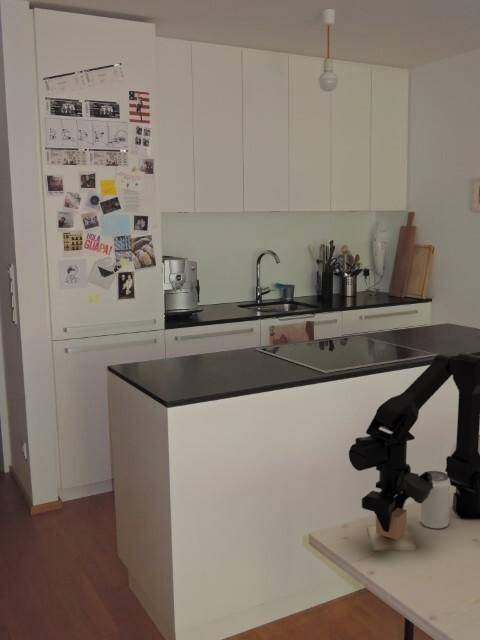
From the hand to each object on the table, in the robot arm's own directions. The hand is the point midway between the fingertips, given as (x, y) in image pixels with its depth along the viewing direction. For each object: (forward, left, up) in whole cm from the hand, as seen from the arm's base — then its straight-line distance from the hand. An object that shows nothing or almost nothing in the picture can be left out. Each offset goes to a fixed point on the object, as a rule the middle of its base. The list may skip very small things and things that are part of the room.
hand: (391, 526), depth 146 cm
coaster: (0, 0, -3) cm, 3 cm away
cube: (0, 0, -1) cm, 1 cm away
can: (-12, -8, -3) cm, 15 cm away
